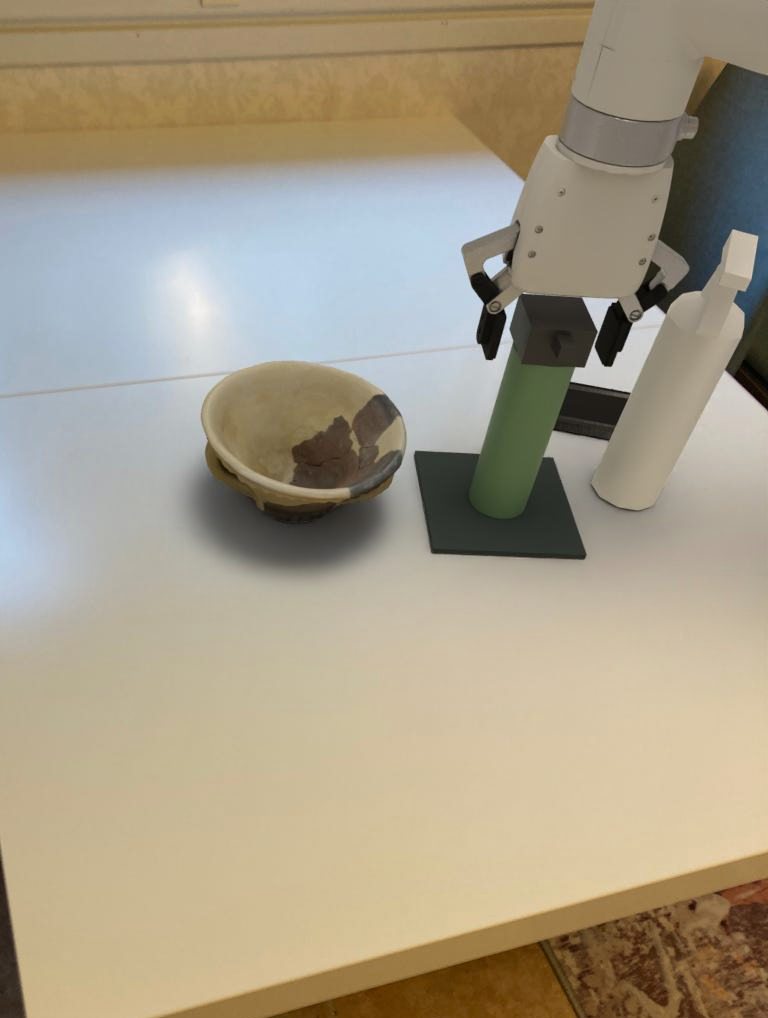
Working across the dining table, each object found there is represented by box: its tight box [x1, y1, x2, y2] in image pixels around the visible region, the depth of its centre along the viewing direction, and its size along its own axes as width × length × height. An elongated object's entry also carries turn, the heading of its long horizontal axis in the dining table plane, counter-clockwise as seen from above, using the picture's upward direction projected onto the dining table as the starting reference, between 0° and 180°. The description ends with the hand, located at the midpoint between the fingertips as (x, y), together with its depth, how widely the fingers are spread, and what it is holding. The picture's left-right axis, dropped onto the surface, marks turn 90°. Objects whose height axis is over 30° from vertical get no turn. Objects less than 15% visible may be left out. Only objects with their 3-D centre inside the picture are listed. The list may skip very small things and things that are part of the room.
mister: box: [469, 293, 599, 519], centre depth 79 cm, size 7×5×19 cm
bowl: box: [200, 360, 408, 524], centre depth 82 cm, size 18×18×10 cm
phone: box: [553, 381, 631, 440], centre depth 98 cm, size 8×1×15 cm
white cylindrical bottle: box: [590, 229, 759, 511], centre depth 82 cm, size 7×12×25 cm, turn 157°
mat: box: [413, 450, 587, 560], centre depth 87 cm, size 14×14×1 cm
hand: (545, 354), depth 76 cm, fingers open, 9 cm apart
